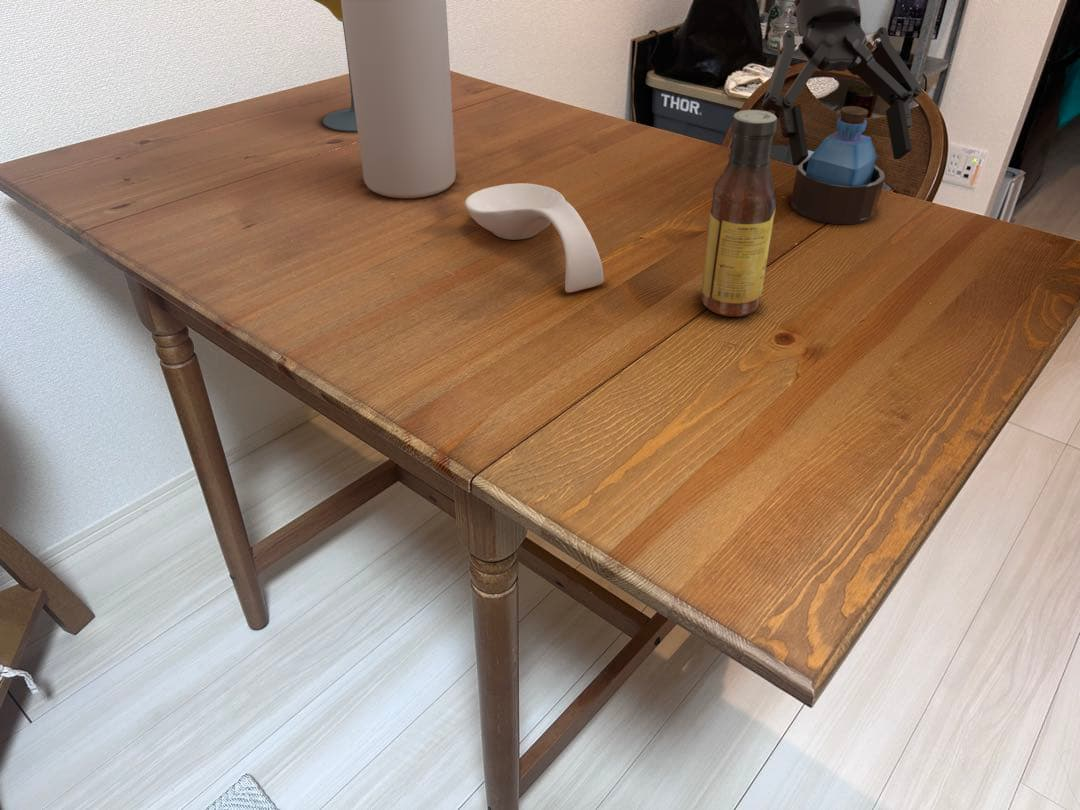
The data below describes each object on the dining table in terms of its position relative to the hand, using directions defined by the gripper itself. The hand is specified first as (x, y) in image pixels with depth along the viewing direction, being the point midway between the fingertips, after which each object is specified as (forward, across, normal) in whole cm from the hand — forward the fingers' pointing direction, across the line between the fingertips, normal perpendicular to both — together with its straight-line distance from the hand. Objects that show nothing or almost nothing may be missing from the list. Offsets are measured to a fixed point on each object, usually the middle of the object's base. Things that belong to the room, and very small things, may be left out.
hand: (852, 158), depth 101 cm
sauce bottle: (+19, +22, +9) cm, 31 cm away
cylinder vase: (-8, +54, -18) cm, 58 cm away
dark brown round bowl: (+4, 0, -6) cm, 8 cm away
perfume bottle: (+4, 0, -6) cm, 7 cm away
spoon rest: (+8, +40, -3) cm, 41 cm away
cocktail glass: (-27, +62, -37) cm, 77 cm away
